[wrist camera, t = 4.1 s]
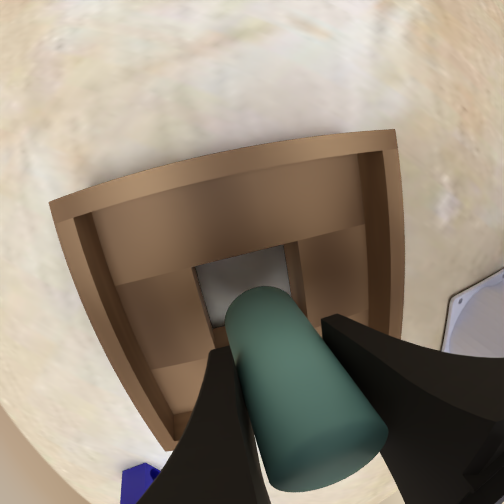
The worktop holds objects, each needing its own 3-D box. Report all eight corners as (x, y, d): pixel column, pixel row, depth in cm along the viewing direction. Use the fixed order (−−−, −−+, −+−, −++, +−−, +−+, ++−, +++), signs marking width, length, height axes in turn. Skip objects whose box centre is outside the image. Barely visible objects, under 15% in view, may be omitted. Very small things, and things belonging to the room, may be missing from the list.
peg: (291, 276, 12) (394, 398, 5) (301, 337, 13) (382, 461, 6) (215, 298, 11) (255, 453, 5) (235, 358, 12) (279, 502, 6)
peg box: (342, 134, 14) (394, 128, 10) (359, 342, 19) (395, 381, 14) (87, 189, 13) (48, 201, 8) (165, 396, 17) (165, 451, 13)
